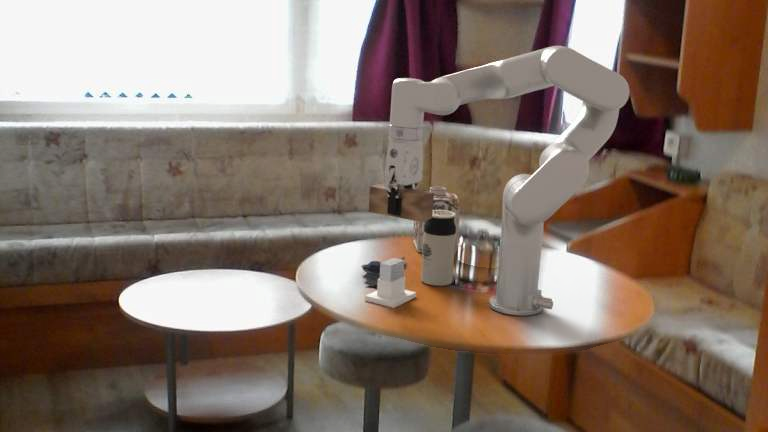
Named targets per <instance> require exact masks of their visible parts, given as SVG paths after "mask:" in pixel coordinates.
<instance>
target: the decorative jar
mask: <svg viewBox="0 0 768 432" xmlns="http://www.w3.org/2000/svg"><path fill="white" fill-rule="evenodd" d="M427 191H428V192H433V193H434V200H433V210H446V211H451V212H454V213H455V214H456V216H455V218H454V223H455V226H456V234H455V249H454V255H455V254H457V250H458V244H459V243H458V242H459V231H460V230H459V228H460V227H459V225H460V215H461V214H460V210H461V207H460V206H461V204H460V199H459V196H458V195H457V194H455V193H452V192H448V191H447V188H446V187H443V186H430V187H429V190H427ZM426 221H427V220H426ZM426 221H424V222H419V221H414V220H413V227H412V228H413V231H412V235H413V236H412V241H413V245H414V247H415V250H416V252H417V253H419V254H420V253H421V254H422V253H423V237H424V224H425V223H426Z"/></svg>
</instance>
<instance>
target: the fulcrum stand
mask: <svg viewBox="0 0 768 432" xmlns="http://www.w3.org/2000/svg"><path fill="white" fill-rule="evenodd" d="M381 262H382V263H380V278H379V279H378V283H377V288H376V290H374V291H372V292H370V293H368V294H366V295H364V302H369V303H372V302H373V303H372V304H378V305H382V306H384V307H388V308H393V309H395V308H397V307H400V306H401V305H403V304H405V303H406V302H409V301H411V300H412V299H414V298H416V297H417V292H416V291H412V290H408V289H406V276H405V259H404V260H402V259H401V258H396V257H392V258H390V259H387V260H385V261H381Z"/></svg>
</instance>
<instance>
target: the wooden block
mask: <svg viewBox="0 0 768 432" xmlns="http://www.w3.org/2000/svg"><path fill="white" fill-rule="evenodd" d="M394 188H395V189H396V191H397V188H398V187H394ZM428 191H429V190H421V189H416V188H415V189H410V188H405V187H402V190H401V195H400V198H402V202H401V215H399V216H397V215H392V214H388V213H387V210H388V196H387V191H386V189H385V187H384V183H377V184H374V185H370V186H369V194H368V195H369V198H368V212H369V213H372V214H379V215H384V216H387V217H388V216H389V217H392V218H393V217H394V218H399V219H404V220H408V221H413V222H414V221H419V222H424V221H426V220H429V219H432V213H433V200H434V193H433V192H428Z"/></svg>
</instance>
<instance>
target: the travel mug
mask: <svg viewBox="0 0 768 432" xmlns="http://www.w3.org/2000/svg"><path fill="white" fill-rule="evenodd" d="M455 216H456V214H455V213H454V212H451V211H446V210H433V213H432V219H429V220H427V221H426V223H425V224H424V237H423V253H421V254H422V255H421V256H422V257H421V271H420V273H421V274H420V281H421V282H422V283H424V284H425V285H427V286H433V287H444V286H445V287H446V286H448V285H451V284H452V283H453V272H454V262H455V254H454V249H455V234H456V226H455V223H454V218H455Z"/></svg>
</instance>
